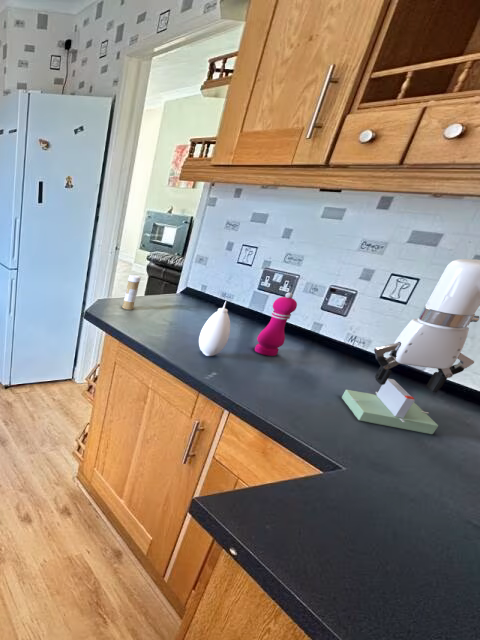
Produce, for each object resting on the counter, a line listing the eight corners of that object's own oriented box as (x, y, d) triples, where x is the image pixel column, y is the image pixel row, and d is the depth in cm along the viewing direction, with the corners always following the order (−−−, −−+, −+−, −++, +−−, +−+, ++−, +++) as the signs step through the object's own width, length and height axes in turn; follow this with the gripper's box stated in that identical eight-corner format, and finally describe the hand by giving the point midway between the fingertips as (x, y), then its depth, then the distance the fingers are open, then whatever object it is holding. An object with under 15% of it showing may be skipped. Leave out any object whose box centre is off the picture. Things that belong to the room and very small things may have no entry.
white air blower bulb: (192, 348, 137) (209, 295, 128) (218, 351, 135) (237, 298, 126) (196, 358, 130) (214, 302, 121) (224, 361, 128) (244, 305, 120)
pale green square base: (407, 406, 107) (413, 398, 106) (439, 438, 95) (446, 429, 93) (336, 394, 112) (341, 385, 111) (358, 423, 99) (363, 414, 98)
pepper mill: (257, 355, 133) (281, 294, 124) (249, 346, 139) (272, 288, 130) (282, 357, 132) (308, 296, 122) (273, 349, 138) (298, 290, 128)
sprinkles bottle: (121, 306, 175) (128, 274, 168) (133, 307, 174) (140, 275, 167) (122, 309, 171) (129, 276, 164) (134, 310, 170) (141, 277, 163)
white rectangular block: (376, 395, 107) (386, 377, 104) (383, 396, 106) (394, 378, 104) (394, 416, 98) (406, 397, 95) (403, 418, 97) (415, 399, 95)
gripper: (486, 317, 91) (443, 385, 99) (386, 308, 97) (354, 373, 105) (509, 329, 85) (461, 400, 93) (402, 318, 91) (366, 386, 99)
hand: (404, 385), depth 99 cm, fingers open, 9 cm apart
